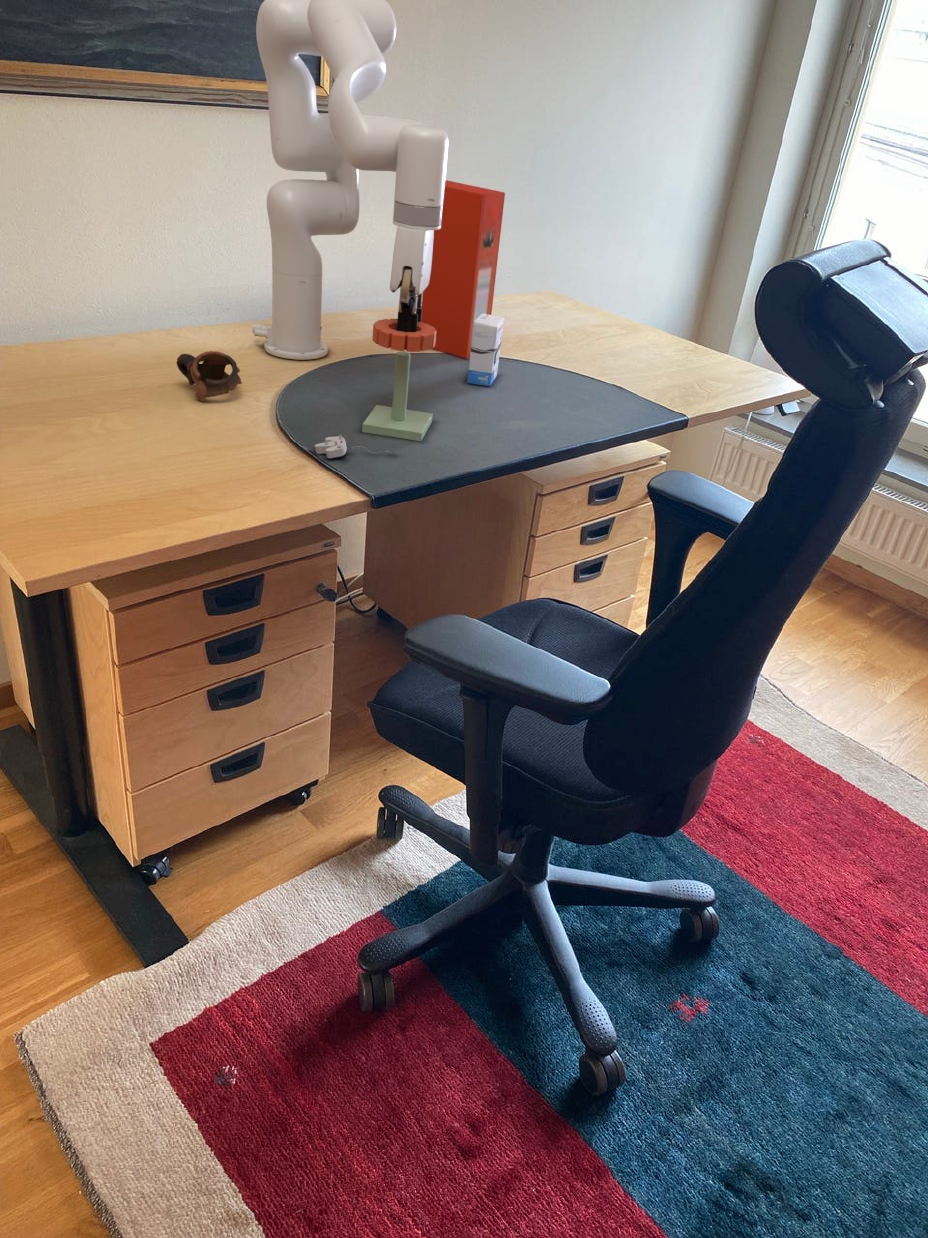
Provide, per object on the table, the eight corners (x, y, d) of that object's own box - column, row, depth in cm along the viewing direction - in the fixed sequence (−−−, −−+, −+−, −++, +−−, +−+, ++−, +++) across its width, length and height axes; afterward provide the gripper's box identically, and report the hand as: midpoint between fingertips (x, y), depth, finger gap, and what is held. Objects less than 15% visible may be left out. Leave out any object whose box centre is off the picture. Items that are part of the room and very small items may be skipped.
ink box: (490, 387, 183) (498, 326, 177) (465, 383, 184) (472, 322, 177) (497, 375, 190) (505, 316, 184) (473, 371, 191) (480, 312, 185)
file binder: (465, 359, 197) (483, 194, 180) (400, 339, 205) (412, 179, 188) (486, 353, 203) (506, 192, 186) (423, 333, 211) (436, 177, 194)
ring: (366, 345, 149) (367, 330, 147) (380, 329, 157) (381, 315, 156) (428, 355, 148) (429, 339, 147) (439, 338, 156) (440, 324, 155)
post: (361, 432, 156) (365, 357, 149) (375, 412, 164) (380, 341, 158) (421, 441, 155) (427, 366, 149) (432, 421, 164) (438, 349, 157)
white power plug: (310, 447, 148) (310, 431, 146) (378, 443, 153) (379, 427, 151) (322, 461, 144) (322, 445, 142) (392, 456, 149) (393, 440, 147)
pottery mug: (250, 390, 168) (251, 358, 161) (225, 427, 164) (225, 395, 156) (188, 363, 168) (186, 329, 161) (161, 399, 163) (159, 366, 156)
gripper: (404, 204, 153) (396, 319, 163) (382, 219, 139) (374, 344, 149) (450, 211, 152) (439, 326, 162) (432, 227, 139) (421, 351, 148)
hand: (408, 333), depth 155 cm, fingers closed on ring, 2 cm apart
